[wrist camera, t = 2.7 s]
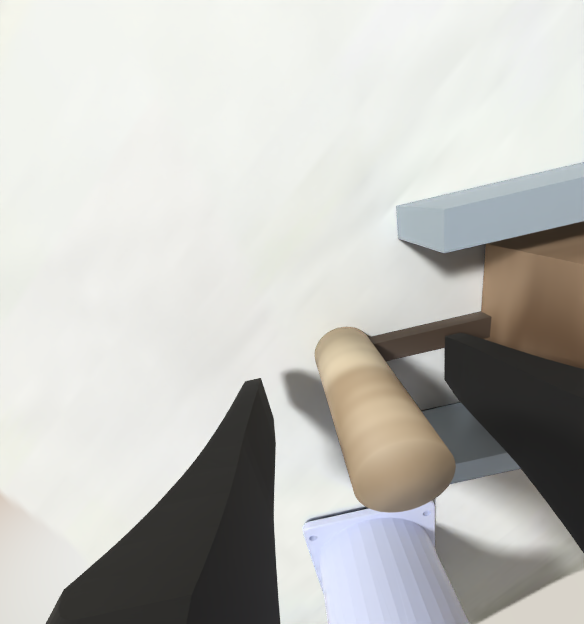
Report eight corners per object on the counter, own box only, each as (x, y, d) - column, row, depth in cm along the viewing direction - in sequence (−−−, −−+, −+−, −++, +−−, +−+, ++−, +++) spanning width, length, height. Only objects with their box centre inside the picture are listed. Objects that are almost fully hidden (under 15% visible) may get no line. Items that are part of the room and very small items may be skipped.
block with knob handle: (614, 351, 14) (852, 457, 8) (327, 417, 14) (367, 565, 8) (659, 203, 11) (1064, 209, 5) (299, 287, 11) (331, 377, 5)
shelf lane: (637, 380, 14) (724, 423, 12) (409, 430, 15) (442, 485, 12) (726, 128, 10) (902, 102, 7) (396, 206, 10) (444, 209, 7)
